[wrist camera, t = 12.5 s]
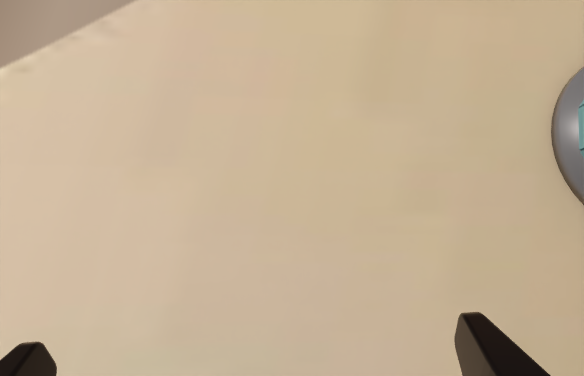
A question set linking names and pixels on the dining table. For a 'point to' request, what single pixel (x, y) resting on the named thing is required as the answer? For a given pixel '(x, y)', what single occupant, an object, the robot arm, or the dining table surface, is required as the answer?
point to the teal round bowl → (570, 133)
